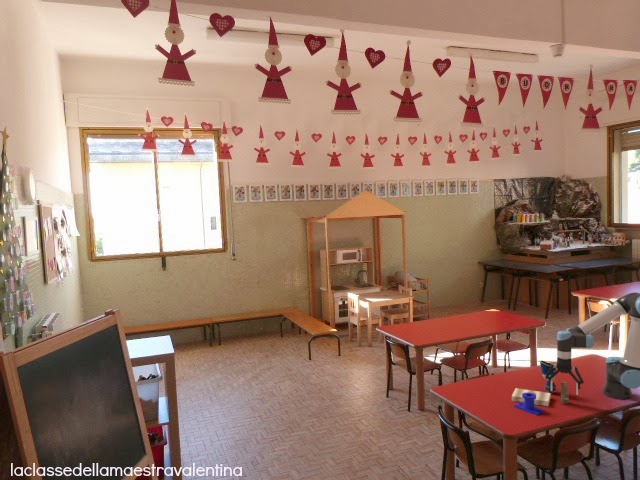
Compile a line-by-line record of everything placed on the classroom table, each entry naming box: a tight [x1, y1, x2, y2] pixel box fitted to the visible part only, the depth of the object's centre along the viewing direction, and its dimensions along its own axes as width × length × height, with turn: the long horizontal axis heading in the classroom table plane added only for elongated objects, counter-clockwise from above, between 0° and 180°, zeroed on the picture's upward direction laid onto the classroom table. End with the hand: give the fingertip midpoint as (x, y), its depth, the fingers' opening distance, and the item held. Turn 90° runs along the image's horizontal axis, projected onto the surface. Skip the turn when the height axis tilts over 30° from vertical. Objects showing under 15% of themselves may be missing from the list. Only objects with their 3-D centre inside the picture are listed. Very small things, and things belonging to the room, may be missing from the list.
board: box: [511, 387, 552, 407], centre depth 289 cm, size 20×14×3 cm
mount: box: [513, 393, 546, 416], centre depth 275 cm, size 15×8×9 cm, turn 31°
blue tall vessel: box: [539, 360, 557, 394], centre depth 298 cm, size 13×9×20 cm
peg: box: [560, 381, 570, 405], centre depth 282 cm, size 4×4×12 cm
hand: (564, 392), depth 282 cm, fingers open, 13 cm apart
